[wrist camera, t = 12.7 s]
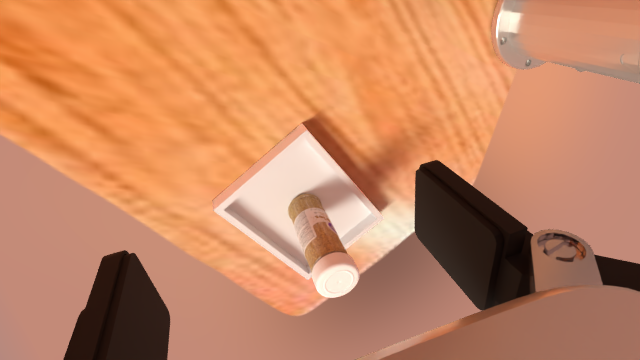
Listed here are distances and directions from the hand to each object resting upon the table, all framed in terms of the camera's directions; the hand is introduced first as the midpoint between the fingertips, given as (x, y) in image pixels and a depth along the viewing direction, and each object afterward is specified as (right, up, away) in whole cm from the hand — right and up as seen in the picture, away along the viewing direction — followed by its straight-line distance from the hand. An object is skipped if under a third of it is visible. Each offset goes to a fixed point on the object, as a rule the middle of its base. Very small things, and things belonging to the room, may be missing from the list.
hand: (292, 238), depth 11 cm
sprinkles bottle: (-1, -2, +33) cm, 34 cm away
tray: (-1, -1, +34) cm, 34 cm away
